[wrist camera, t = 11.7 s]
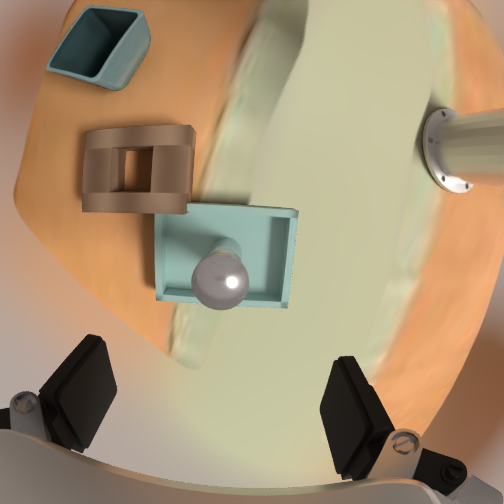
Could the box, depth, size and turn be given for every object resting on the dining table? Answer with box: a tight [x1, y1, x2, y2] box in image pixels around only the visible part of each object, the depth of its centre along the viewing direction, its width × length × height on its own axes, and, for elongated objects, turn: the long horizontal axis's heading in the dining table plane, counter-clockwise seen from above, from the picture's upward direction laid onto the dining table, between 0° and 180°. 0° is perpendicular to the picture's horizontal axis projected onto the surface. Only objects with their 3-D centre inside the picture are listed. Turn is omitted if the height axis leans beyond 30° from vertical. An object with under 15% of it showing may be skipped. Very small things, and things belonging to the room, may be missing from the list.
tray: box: [154, 202, 299, 308], centre depth 30 cm, size 15×11×3 cm
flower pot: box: [46, 5, 151, 91], centre depth 21 cm, size 9×9×9 cm
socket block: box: [82, 125, 196, 215], centre depth 27 cm, size 12×9×4 cm
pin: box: [191, 237, 249, 310], centre depth 26 cm, size 5×5×10 cm
